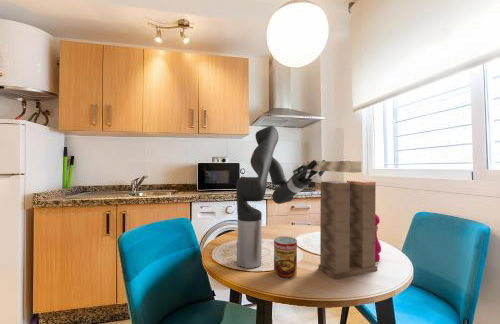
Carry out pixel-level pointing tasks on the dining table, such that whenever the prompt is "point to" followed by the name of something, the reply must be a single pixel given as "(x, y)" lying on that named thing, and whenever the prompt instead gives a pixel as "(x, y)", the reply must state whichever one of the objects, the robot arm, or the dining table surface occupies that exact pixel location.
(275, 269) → the canned food
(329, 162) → the birch bar
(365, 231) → the walnut rack
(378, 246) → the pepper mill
